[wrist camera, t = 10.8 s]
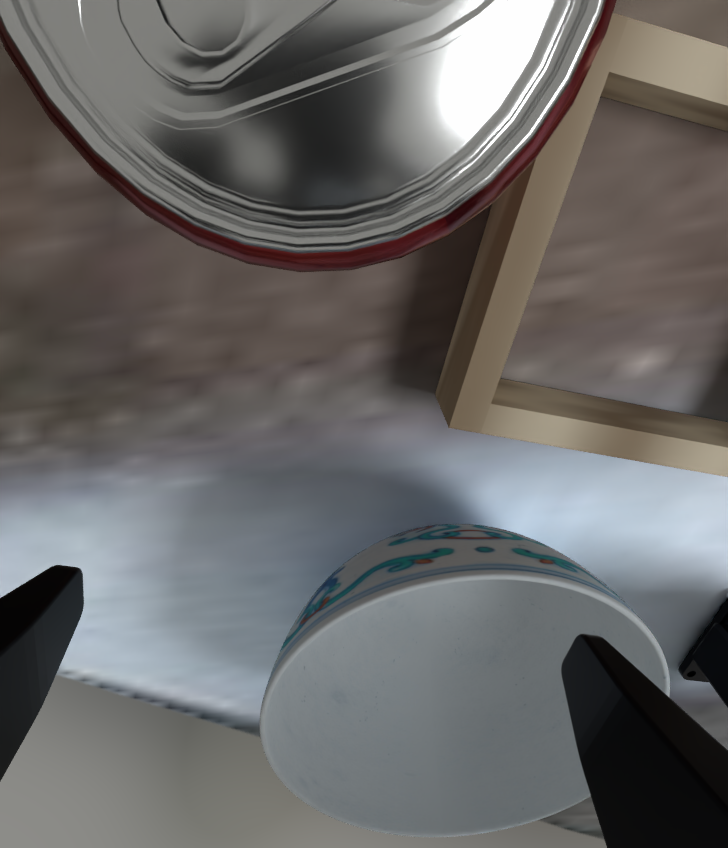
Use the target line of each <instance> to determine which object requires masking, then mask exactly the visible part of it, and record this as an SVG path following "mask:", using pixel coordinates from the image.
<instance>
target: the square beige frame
mask: <svg viewBox="0 0 728 848" xmlns="http://www.w3.org/2000/svg"><path fill="white" fill-rule="evenodd" d="M600 96H601V97H605V98H609V99H612V100H616V101H619V102H623V103H627V104H630V105H634V106H637V107H641V108H645V109H648V110H652V111H655V112H659V113H662V114H666V115H670V116H673V117H677V118H680V119H684V120H688V121H691V122H695V123H698V124H702V125H706V126H709V127H713V128H716V129H720V130H724V131H727V132H728V48H727V47H724V46H721V45H718V44H714V43H711V42H708V41H704V40H701V39H698V38H694V37H691V36H688V35H685V34H681V33H678V32H675V31H671V30H668V29H665V28H661V27H658V26H655V25H652V24H648V23H645V22H642V21H638V20H635V19H632V18H628V17H625V16H622V15H619V14H615V13H612V16H611V20H610V23H609V26H608V29H607V33H606V35H605V38H604V40H603V43H602V45H601V47H600V49H599V51H598V53H597V55H596V57H595V59H594V61H593V64H592V66H591V68H590V70H589V72H588V74H587V76H586V78H585V80H584V83H583V85H582V87H581V89H580V91H579V93H578V95H577V97H576V99H575V101H574V104H573V105H572V107H571V108H570V110H569V111H568V113H567V114H566V115H565V117H564V118H563V120H562V121H561V123H560V124H559V126H558V127H557V129H556V130H555V132H554V133H553V135H552V136H551V137H550V139H549V140H548V142H547V143H546V145H545V146H544V148H543V149H542V151H541V152H540V154H539V155H538V157H537V158H536V159H535V160H534V161H533V162H532V163H531V164H530V165H529V167H528V168H527V169H526V170H525V171H524V172H523V173H522V174H521V175H520V176H519V177H518V178H517V179H516V180H515V181H514V182H513V183H512V184H511V185H510V186H509V187H508V188H507V189H506V190H505V192H504V193H503V194H502V195H501V196H500V197H499V198H498V199H497V200H496V201H495V202H494V203H493V204H492V207H491V210H490V213H489V217H488V220H487V223H486V227H485V230H484V233H483V237H482V240H481V243H480V246H479V250H478V253H477V256H476V260H475V263H474V266H473V270H472V273H471V276H470V280H469V283H468V286H467V290H466V293H465V296H464V300H463V303H462V306H461V310H460V313H459V316H458V320H457V323H456V326H455V330H454V333H453V336H452V339H451V343H450V346H449V349H448V353H447V356H446V359H445V363H444V366H443V369H442V373H441V376H440V379H439V383H438V386H437V389H436V393H435V396H436V398H437V400H438V403H439V405H440V408H441V410H442V412H443V415H444V417H445V420H446V422H447V424H448V427H449V428H454V429H459V430H465V431H470V432H476V433H482V434H487V435H493V436H499V437H504V438H510V439H516V440H521V441H527V442H533V443H538V444H544V445H550V446H555V447H561V448H567V449H572V450H578V451H584V452H589V453H595V454H601V455H606V456H612V457H618V458H623V459H629V460H635V461H640V462H646V463H652V464H657V465H663V466H669V467H674V468H680V469H686V470H691V471H697V472H703V473H708V474H714V475H720V476H725V477H728V422H724V421H719V420H713V419H708V418H703V417H698V416H693V415H687V414H682V413H677V412H672V411H667V410H661V409H656V408H651V407H646V406H641V405H636V404H630V403H625V402H620V401H615V400H610V399H604V398H599V397H594V396H589V395H584V394H578V393H573V392H568V391H563V390H558V389H552V388H547V387H542V386H537V385H532V384H527V383H521V382H516V381H511V380H506V379H501V378H500V377H501V374H502V371H503V368H504V366H505V363H506V360H507V357H508V354H509V352H510V349H511V346H512V343H513V340H514V338H515V335H516V332H517V329H518V326H519V324H520V321H521V318H522V315H523V312H524V309H525V307H526V304H527V301H528V298H529V295H530V293H531V290H532V287H533V284H534V281H535V279H536V276H537V273H538V270H539V267H540V265H541V262H542V259H543V256H544V253H545V251H546V248H547V245H548V242H549V239H550V237H551V234H552V231H553V228H554V225H555V222H556V220H557V217H558V214H559V211H560V208H561V206H562V203H563V200H564V197H565V194H566V192H567V189H568V186H569V183H570V180H571V178H572V175H573V172H574V169H575V166H576V164H577V161H578V158H579V155H580V152H581V150H582V147H583V144H584V141H585V138H586V135H587V133H588V130H589V127H590V124H591V121H592V119H593V116H594V113H595V110H596V107H597V105H598V102H599V99H600Z"/></svg>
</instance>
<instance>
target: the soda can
mask: <svg viewBox="0 0 728 848" xmlns="http://www.w3.org/2000/svg"><path fill="white" fill-rule="evenodd" d="M615 3H616V0H0V39H1V41H2V43H3V45H4V47H5V50H6V51H7V53H8V54H9V56H10V57H11V59H12V61H13V62H14V64H15V65H16V67H17V68H18V70H19V72H20V73H21V75H22V76H23V78H24V79H25V81H26V83H27V84H28V86H29V87H30V89H31V91H32V92H33V94H34V95H35V97H36V98H37V100H38V102H39V103H40V105H41V106H42V108H43V109H44V111H45V113H46V114H47V116H48V117H49V118H50V120H51V121H52V122H53V123H54V125H55V126H56V127H57V128H58V129H59V130H60V132H61V133H62V134H63V135H64V136H65V137H66V138H67V140H68V141H69V142H70V143H71V144H72V145H73V147H74V148H75V149H76V150H77V151H78V152H79V153H80V155H81V156H82V157H83V158H84V159H85V160H86V162H87V163H88V164H89V165H90V166H91V167H92V168H93V170H94V171H95V172H96V173H97V174H98V175H99V176H100V177H101V178H103V179H104V180H105V181H106V182H107V183H109V184H110V185H111V186H112V187H113V188H115V189H116V190H117V191H118V192H119V193H121V194H122V195H123V196H124V197H125V198H126V199H128V200H129V201H130V202H131V203H132V204H134V205H135V206H136V207H137V208H138V209H140V210H141V211H142V212H143V213H144V214H145V215H147V216H149V217H150V218H152V219H154V220H155V221H157V222H159V223H160V224H162V225H164V226H166V227H167V228H169V229H171V230H172V231H174V232H176V233H177V234H179V235H181V236H183V237H184V238H186V239H188V240H189V241H191V242H193V243H194V244H196V245H198V246H201V247H204V248H207V249H209V250H212V251H215V252H218V253H220V254H223V255H226V256H229V257H231V258H234V259H237V260H239V261H242V262H245V263H248V264H253V265H259V266H265V267H271V268H278V269H284V270H290V271H296V272H315V271H340V270H353V269H357V268H361V267H366V266H370V265H374V264H378V263H382V262H386V261H390V260H394V259H398V258H402V257H404V256H406V255H408V254H410V253H412V252H414V251H416V250H419V249H421V248H423V247H425V246H427V245H429V244H431V243H433V242H436V241H438V240H440V239H442V238H444V237H446V236H448V235H450V234H451V233H453V232H454V231H455V230H457V229H458V228H460V227H461V226H462V225H464V224H465V223H466V222H468V221H469V220H471V219H472V218H473V217H475V216H476V215H477V214H479V213H480V212H482V211H483V210H484V209H486V208H487V207H488V206H490V205H491V204H493V203H494V202H495V201H496V200H497V199H498V198H499V197H500V196H501V195H502V194H503V193H504V192H505V190H506V189H507V188H508V187H509V186H510V185H511V184H512V183H513V182H514V181H515V180H516V179H517V178H518V177H519V176H520V175H521V174H522V173H523V172H524V171H525V170H526V169H527V168H528V167H529V165H530V164H531V163H532V162H533V161H534V160H535V159H536V158H537V157H538V155H539V154H540V152H541V151H542V149H543V148H544V146H545V145H546V143H547V142H548V140H549V139H550V137H551V136H552V135H553V133H554V132H555V130H556V129H557V127H558V126H559V124H560V123H561V121H562V120H563V118H564V117H565V115H566V114H567V113H568V111H569V110H570V108H571V107H572V105H573V104H574V101H575V99H576V97H577V95H578V93H579V91H580V89H581V87H582V85H583V83H584V80H585V78H586V76H587V74H588V72H589V70H590V68H591V66H592V64H593V61H594V59H595V57H596V55H597V53H598V51H599V49H600V47H601V45H602V43H603V40H604V38H605V35H606V33H607V29H608V26H609V23H610V20H611V16H612V13H613V10H614V7H615Z"/></svg>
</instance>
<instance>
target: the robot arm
mask: <svg viewBox="0 0 728 848" xmlns="http://www.w3.org/2000/svg"><path fill="white" fill-rule="evenodd" d="M83 606H84V596H83V574H82V571H81V569H79V568H77V567H70V566H62V565H55V566H53V567H50V568H49V569H47V570H45V571H44V572H42V573H41V574H39V575H37V576H36V577H34V578H32V579H31V580H29V581H28V582H26V583H24V584H23V585H21V586H19V587H18V588H16V589H15V590H13V591H11V592H10V593H8V594H6V595H5V596H3V597H2V598H0V781H1V779H2V777H3V776H4V774H5V772H6V770H7V768H8V767H9V765H10V763H11V761H12V759H13V758H14V756H15V754H16V752H17V751H18V749H19V747H20V745H21V744H22V742H23V740H24V738H25V736H26V734H27V733H28V731H29V729H30V728H31V726H32V724H33V722H34V720H35V718H36V716H37V715H38V712H39V711H40V709H41V707H42V705H43V703H44V700H45V698H46V696H47V694H48V691H49V689H50V687H51V684H52V682H53V680H54V678H55V675H56V673H57V671H58V669H59V666H60V664H61V662H62V659H63V657H64V655H65V652H66V650H67V648H68V645H69V643H70V641H71V638H72V636H73V634H74V631H75V629H76V627H77V625H78V622H79V620H80V617H81V615H82V611H83ZM679 672H680V674H681V675H682V677H683V678H684V679H686V680H693V681H702V682H710V684H711V685H712V686H713V688H714V689H715V691H716V692H717V693H718V695H719V696H720V698H721V699H722V700H723V702H724V703H725V705H726V706H727V707H728V599H727V601H726V602H725V603H724V605H723V606H722V608H721V609H720V610H719V612H718V613H717V615H716V616H715V618H714V619H713V620H712V622H711V623H710V625H709V626H708V627H707V629H706V630H705V632H704V633H703V634H702V636H701V637H700V639H699V640H698V641H697V643H696V644H695V646H694V647H693V649H692V650H691V651H690V653H689V654H688V656H687V657H686V658H685V660H684V661H683V663H682V664H681V665H680V667H679ZM561 675H562V680H563V685H564V690H565V694H566V699H567V704H568V708H569V713H570V718H571V722H572V727H573V732H574V736H575V741H576V745H577V750H578V754H579V758H580V762H581V765H582V768H583V772H584V775H585V779H586V782H587V785H588V788H589V791H590V794H591V798H592V801H593V804H594V807H595V810H596V814H597V817H598V820H599V823H600V826H601V830H602V833H603V836H604V839H605V842H606V845H607V848H728V750H727V749H726V748H725V747H724V746H722V745H721V744H720V743H719V742H718V741H717V740H716V739H715V738H714V737H712V736H711V735H710V734H709V733H708V732H707V731H706V730H705V729H704V728H703V727H701V726H700V725H699V724H698V723H697V722H696V721H695V720H694V719H693V718H691V717H690V716H689V715H688V714H687V713H686V712H685V711H684V710H683V709H682V708H680V707H679V706H678V705H677V704H676V703H675V702H674V701H673V700H672V699H670V698H669V697H668V696H667V695H666V694H665V693H664V692H663V691H662V690H661V689H659V688H658V687H657V686H656V685H655V684H654V683H653V682H652V681H651V680H649V679H648V678H647V677H646V676H645V675H644V674H643V673H642V672H641V671H640V670H638V669H637V668H636V667H635V666H634V665H633V664H632V663H631V662H630V661H629V660H627V659H626V658H625V657H624V656H623V655H622V654H621V653H620V652H619V651H617V650H616V649H615V648H614V647H613V646H612V645H611V644H610V643H609V642H608V641H606V640H605V639H604V638H603V637H601V636H598V635H591V634H579V635H578V636H576V638H575V640H574V641H573V643H572V645H571V647H570V649H569V651H568V652H567V654H566V656H565V658H564V660H563V662H562V666H561Z"/></svg>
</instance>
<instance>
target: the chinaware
mask: <svg viewBox="0 0 728 848" xmlns="http://www.w3.org/2000/svg"><path fill="white" fill-rule="evenodd" d="M579 634H591V635H598V636H601V637H603V638H604V639H605V640H606V641H608V642H609V643H610V644H611V645H612V646H613V647H614V648H615V649H616V650H617V651H619V652H620V653H621V654H622V655H623V656H624V657H625V658H626V659H627V660H629V661H630V662H631V663H632V664H633V665H634V666H635V667H636V668H637V669H638V670H640V671H641V672H642V673H643V674H644V675H645V676H646V677H647V678H648V679H649V680H651V681H652V682H653V683H654V684H655V685H656V686H657V687H658V688H659V689H661V690H662V691H663V692H664V693H665V694H666V695H667V696H668V697H669V694H670V677H669V670H668V665H667V662H666V659H665V656H664V654H663V651H662V649H661V647H660V645H659V643H658V642H657V640H656V638H655V637H654V635H653V634H652V632H651V631H650V630H649V628H648V627H647V626H646V625H645V623H644V622H643V621H642V620H641V619H640V618H639V617H638V616H637V615H636V614H635V613H634V611H633V610H632V609H631V608H630V607H629V606H628V605H627V604H626V603H625V602H624V601H622V600H621V599H620V598H619V597H618V596H617V595H616V594H615V593H614V592H613V591H612V590H611V589H609V588H608V587H607V586H606V585H605V584H604V583H602V582H601V581H600V580H599V579H598V578H596V577H595V576H594V575H592V574H591V573H590V572H588V571H587V570H586V569H584V568H583V567H582V566H580V565H579V564H577V563H576V562H574V561H573V560H571V559H570V558H568V557H566V556H565V555H563V554H561V553H559V552H558V551H556V550H554V549H552V548H550V547H548V546H546V545H544V544H542V543H540V542H538V541H535V540H533V539H531V538H528V537H525V536H523V535H520V534H517V533H513V532H510V531H506V530H502V529H498V528H493V527H487V526H480V525H470V524H444V525H434V526H427V527H422V528H417V529H413V530H409V531H406V532H402V533H399V534H396V535H394V536H391V537H389V538H386V539H384V540H382V541H380V542H378V543H376V544H374V545H372V546H370V547H368V548H366V549H365V550H363V551H362V552H360V553H358V554H357V555H355V556H354V557H353V558H351V559H350V560H348V561H347V562H346V563H345V564H343V565H342V566H341V567H340V568H339V569H338V570H336V571H335V572H334V573H333V574H332V575H331V576H330V577H329V578H328V579H327V580H326V581H325V582H324V583H323V584H322V585H321V587H320V588H319V589H318V590H317V591H316V592H315V594H314V595H313V596H312V597H311V599H310V600H309V602H308V603H307V604H306V606H305V607H304V609H303V610H302V612H301V613H300V615H299V616H298V618H297V619H296V621H295V623H294V625H293V626H292V628H291V630H290V632H289V634H288V636H287V638H286V640H285V642H284V644H283V646H282V648H281V650H280V653H279V655H278V657H277V660H276V662H275V665H274V667H273V670H272V673H271V675H270V678H269V681H268V684H267V687H266V690H265V694H264V698H263V702H262V707H261V713H260V736H261V742H262V746H263V749H264V753H265V755H266V758H267V760H268V762H269V764H270V766H271V768H272V769H273V771H274V772H275V774H276V775H277V776H278V778H279V779H280V780H281V782H282V783H283V784H284V785H285V786H286V787H287V788H288V789H289V790H290V791H291V792H292V793H293V794H294V795H296V796H297V797H298V798H299V799H301V800H302V801H303V802H305V803H306V804H308V805H309V806H311V807H313V808H314V809H316V810H318V811H320V812H321V813H323V814H326V815H328V816H329V817H332V818H334V819H336V820H339V821H342V822H344V823H347V824H350V825H353V826H356V827H360V828H364V829H367V830H372V831H377V832H382V833H387V834H394V835H403V836H414V837H453V836H466V835H474V834H482V833H488V832H494V831H499V830H503V829H507V828H512V827H516V826H520V825H523V824H527V823H530V822H533V821H536V820H539V819H542V818H545V817H548V816H550V815H553V814H555V813H558V812H560V811H562V810H565V809H567V808H569V807H571V806H573V805H575V804H577V803H579V802H581V801H583V800H585V799H586V798H588V797H590V796H591V794H590V791H589V788H588V785H587V782H586V779H585V775H584V772H583V768H582V765H581V762H580V758H579V754H578V750H577V745H576V741H575V736H574V732H573V727H572V722H571V718H570V713H569V708H568V704H567V699H566V694H565V690H564V685H563V680H562V675H561V666H562V662H563V660H564V658H565V656H566V654H567V652H568V651H569V649H570V647H571V645H572V643H573V641H574V640H575V638H576V636H578V635H579Z"/></svg>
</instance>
